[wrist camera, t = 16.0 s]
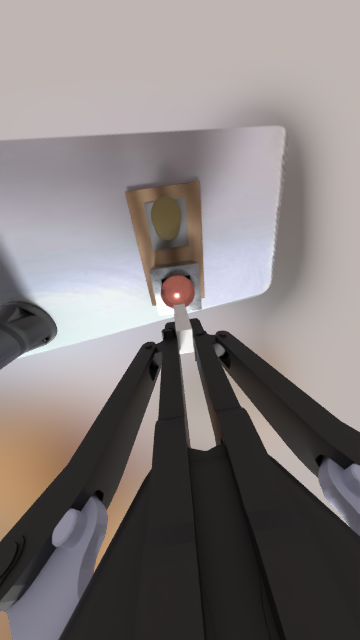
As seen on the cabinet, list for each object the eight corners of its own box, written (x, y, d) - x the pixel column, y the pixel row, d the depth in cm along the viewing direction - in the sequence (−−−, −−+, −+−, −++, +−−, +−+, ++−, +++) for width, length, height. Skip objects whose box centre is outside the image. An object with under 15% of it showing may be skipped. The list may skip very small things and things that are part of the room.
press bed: (153, 303, 42) (152, 306, 39) (127, 195, 30) (124, 190, 27) (203, 296, 42) (204, 298, 40) (197, 185, 30) (200, 179, 27)
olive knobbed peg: (177, 206, 29) (181, 184, 19) (182, 238, 32) (187, 232, 22) (150, 212, 29) (141, 194, 20) (158, 243, 32) (152, 240, 22)
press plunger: (165, 298, 37) (164, 311, 28) (160, 271, 33) (157, 278, 25) (190, 294, 37) (196, 306, 29) (187, 267, 33) (193, 273, 25)
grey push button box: (161, 301, 40) (159, 315, 31) (154, 265, 35) (149, 270, 26) (194, 296, 40) (201, 309, 31) (191, 260, 35) (199, 263, 26)
